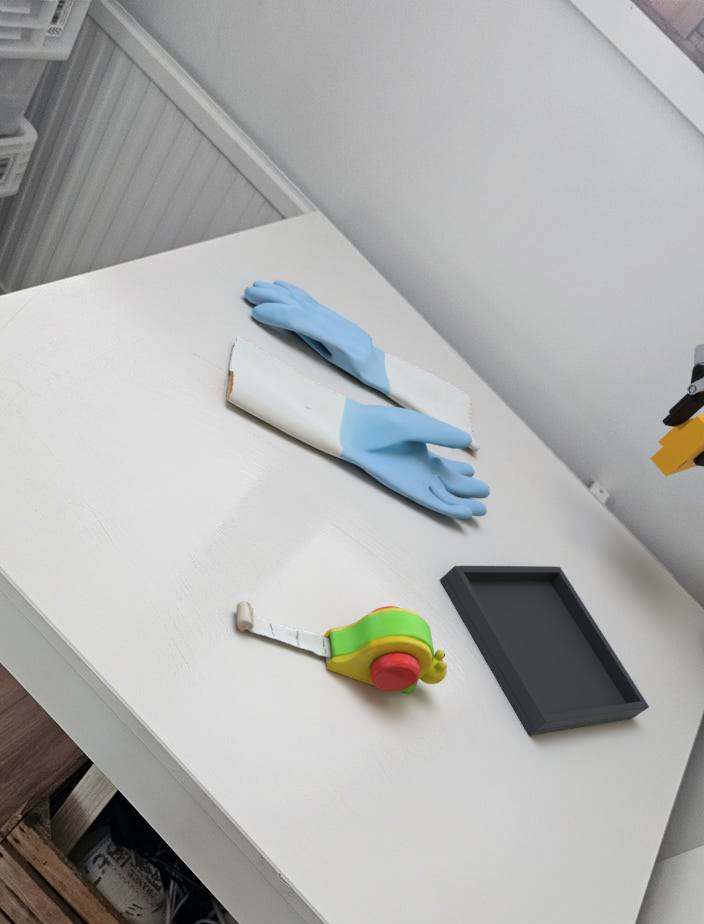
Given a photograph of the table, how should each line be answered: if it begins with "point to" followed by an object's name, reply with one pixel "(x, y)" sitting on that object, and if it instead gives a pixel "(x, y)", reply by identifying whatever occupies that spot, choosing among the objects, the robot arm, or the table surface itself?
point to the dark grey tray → (543, 646)
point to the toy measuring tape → (366, 647)
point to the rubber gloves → (359, 404)
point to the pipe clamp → (681, 446)
